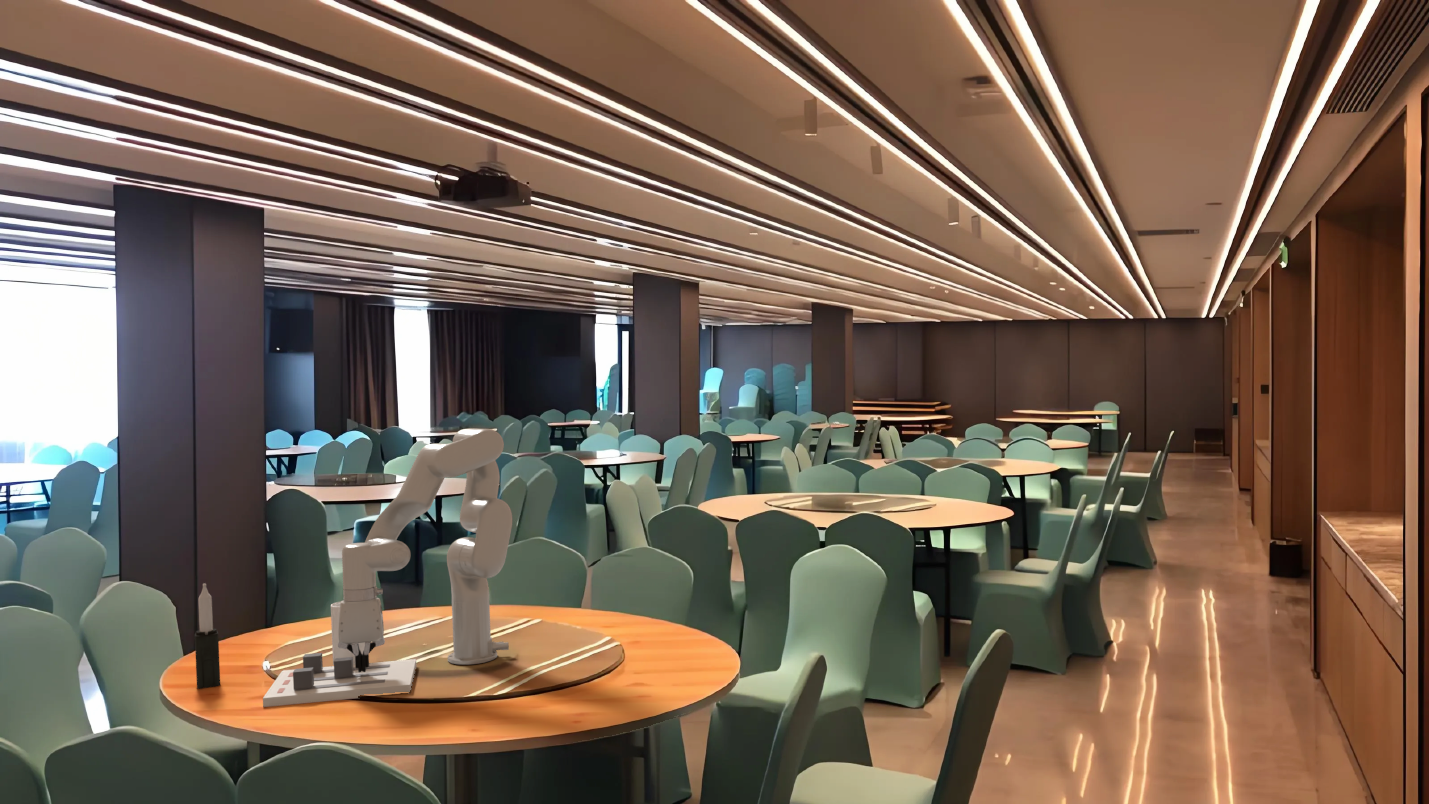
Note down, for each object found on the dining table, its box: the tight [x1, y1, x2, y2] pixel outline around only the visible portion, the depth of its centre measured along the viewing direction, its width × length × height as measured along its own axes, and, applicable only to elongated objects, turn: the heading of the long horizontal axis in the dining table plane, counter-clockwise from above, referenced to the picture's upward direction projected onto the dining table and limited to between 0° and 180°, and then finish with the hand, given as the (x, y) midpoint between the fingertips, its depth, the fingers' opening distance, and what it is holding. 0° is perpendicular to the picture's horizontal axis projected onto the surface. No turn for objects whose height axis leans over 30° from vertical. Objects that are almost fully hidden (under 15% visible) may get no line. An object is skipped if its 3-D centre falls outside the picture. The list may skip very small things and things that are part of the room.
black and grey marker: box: [194, 582, 221, 690], centre depth 256 cm, size 5×5×25 cm
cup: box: [330, 601, 365, 666], centre depth 271 cm, size 8×8×16 cm
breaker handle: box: [334, 657, 353, 678], centre depth 252 cm, size 4×3×4 cm
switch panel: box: [262, 652, 417, 708], centre depth 252 cm, size 32×24×6 cm
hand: (362, 670), depth 253 cm, fingers closed
